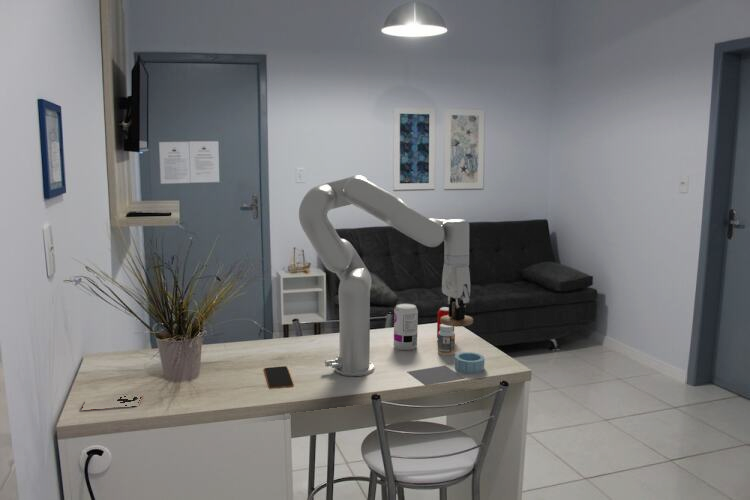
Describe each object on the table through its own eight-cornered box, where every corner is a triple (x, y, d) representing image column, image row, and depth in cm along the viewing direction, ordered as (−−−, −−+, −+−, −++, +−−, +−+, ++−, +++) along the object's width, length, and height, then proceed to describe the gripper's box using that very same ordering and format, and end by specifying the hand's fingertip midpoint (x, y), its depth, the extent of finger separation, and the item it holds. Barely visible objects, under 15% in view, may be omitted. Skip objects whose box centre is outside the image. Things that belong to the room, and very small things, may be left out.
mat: (425, 386, 186) (425, 385, 186) (406, 372, 196) (406, 371, 196) (465, 379, 192) (465, 378, 191) (445, 366, 202) (445, 365, 202)
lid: (451, 328, 188) (451, 308, 187) (434, 319, 197) (434, 301, 196) (479, 323, 192) (479, 304, 191) (461, 315, 201) (462, 297, 200)
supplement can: (391, 349, 218) (391, 308, 215) (397, 342, 226) (397, 302, 223) (413, 352, 216) (414, 310, 213) (419, 344, 223) (420, 304, 221)
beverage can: (443, 344, 224) (444, 311, 222) (433, 339, 230) (434, 307, 228) (457, 341, 227) (458, 309, 225) (447, 336, 233) (448, 305, 231)
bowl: (464, 375, 194) (465, 363, 194) (449, 366, 202) (449, 354, 202) (489, 371, 198) (490, 359, 197) (473, 362, 206) (473, 350, 206)
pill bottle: (455, 356, 212) (456, 327, 210) (438, 355, 212) (439, 327, 211) (453, 350, 218) (454, 323, 216) (436, 350, 218) (437, 322, 216)
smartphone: (269, 390, 183) (268, 387, 182) (263, 370, 198) (263, 367, 198) (294, 387, 185) (294, 385, 184) (287, 368, 200) (287, 365, 200)
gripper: (433, 256, 197) (433, 313, 200) (459, 265, 182) (459, 326, 185) (453, 254, 200) (453, 310, 203) (481, 263, 185) (481, 323, 188)
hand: (456, 317), depth 194 cm, fingers closed on lid, 3 cm apart
